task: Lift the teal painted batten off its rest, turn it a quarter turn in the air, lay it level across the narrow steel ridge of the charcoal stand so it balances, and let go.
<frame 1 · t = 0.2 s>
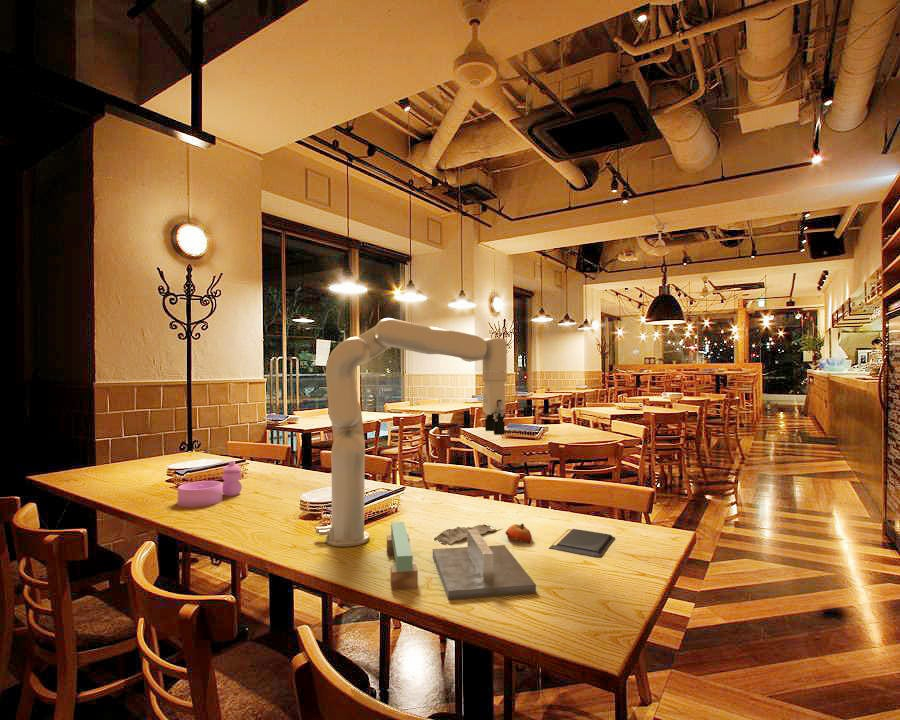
hand: (494, 432, 155), 31 cm above the table, tool pointing down, fingers open, 9 cm apart
teal batten: (400, 551, 127), point 4 cm above the table, touching batten rest
batten rest: (400, 567, 127), on the table
dark grey flat block: (583, 545, 146), on the table
stone fragment: (470, 536, 154), on the table
ridge stand: (479, 573, 123), on the table
container set: (212, 499, 194), on the table
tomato: (518, 541, 148), on the table
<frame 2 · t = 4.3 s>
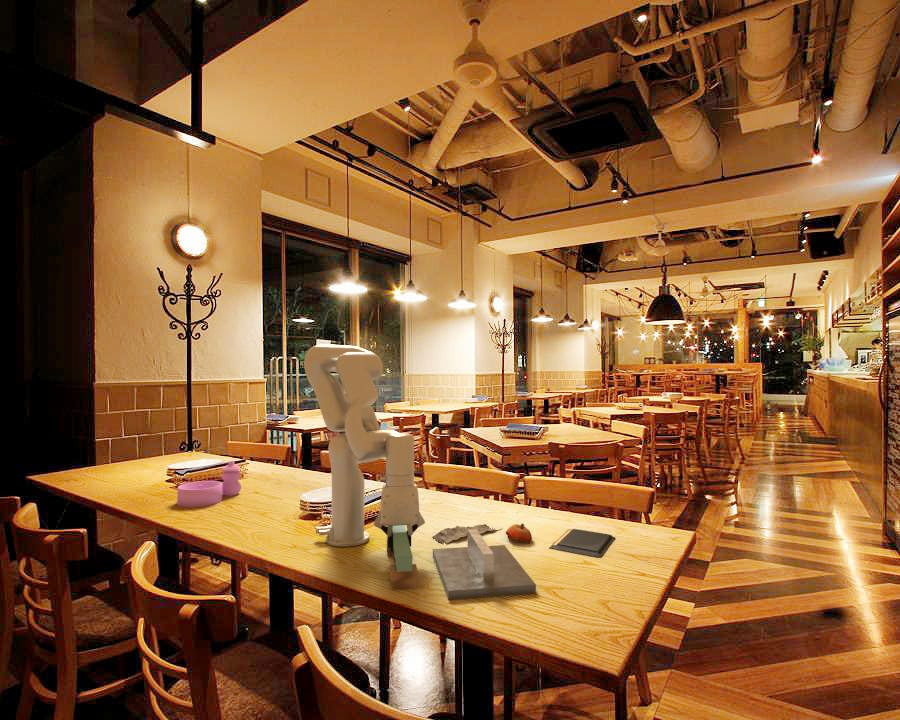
hand: (399, 549, 132), 3 cm above the table, tool pointing down, fingers closed on teal batten, 3 cm apart
teal batten: (400, 551, 127), point 4 cm above the table, touching batten rest, gripper
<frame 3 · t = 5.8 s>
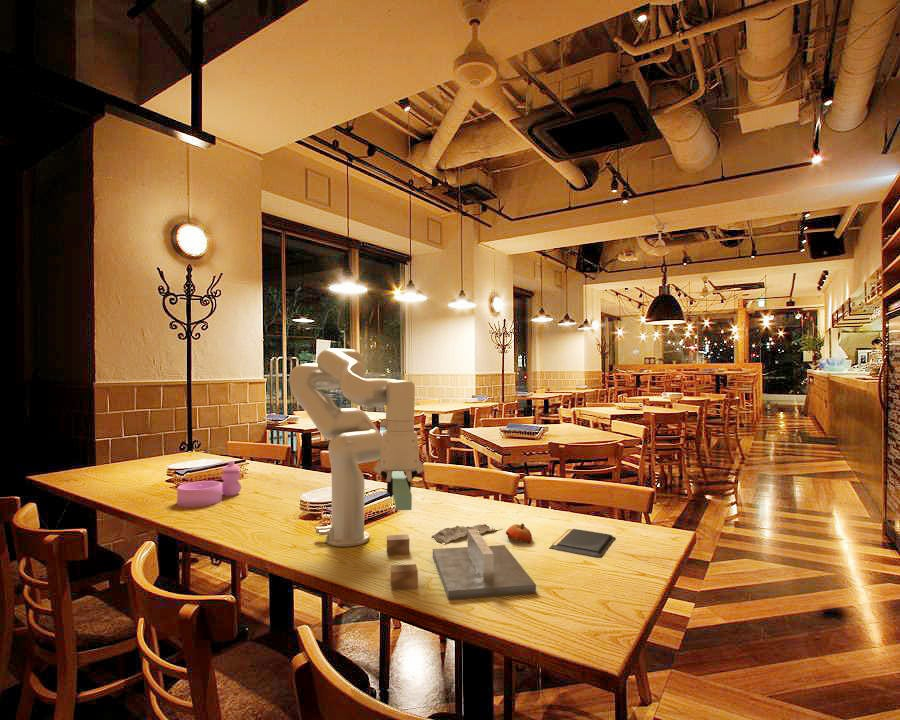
hand: (398, 494, 133), 17 cm above the table, tool pointing down, fingers closed on teal batten, 3 cm apart
teal batten: (400, 495, 128), point 18 cm above the table, touching gripper
everything else where it was.
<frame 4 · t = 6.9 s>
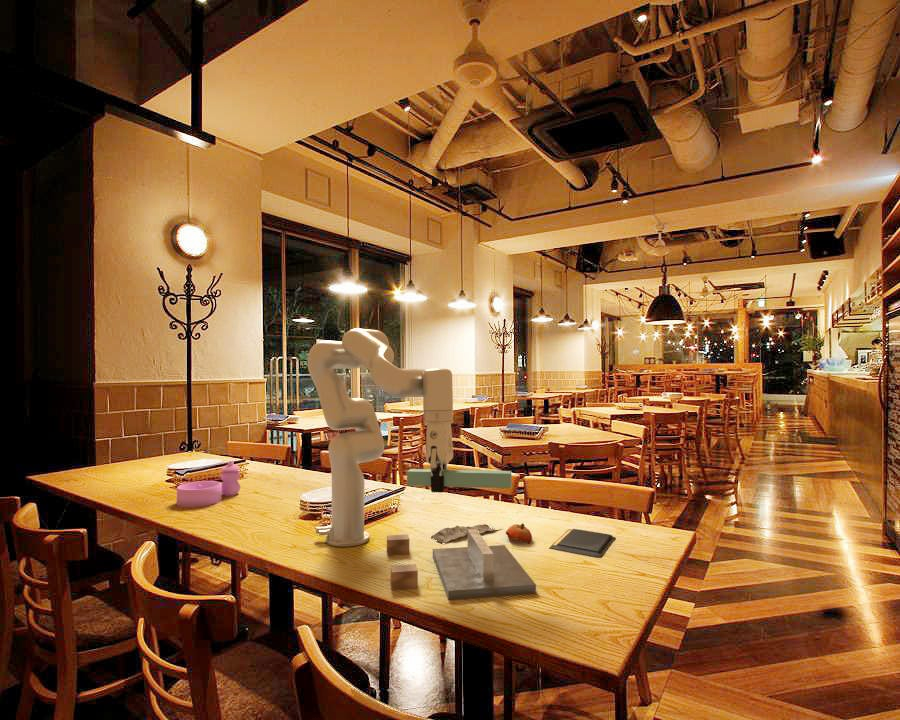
hand: (439, 489, 126), 20 cm above the table, tool pointing down, fingers closed on teal batten, 3 cm apart
teal batten: (458, 485, 125), point 21 cm above the table, touching gripper
everything else where it was.
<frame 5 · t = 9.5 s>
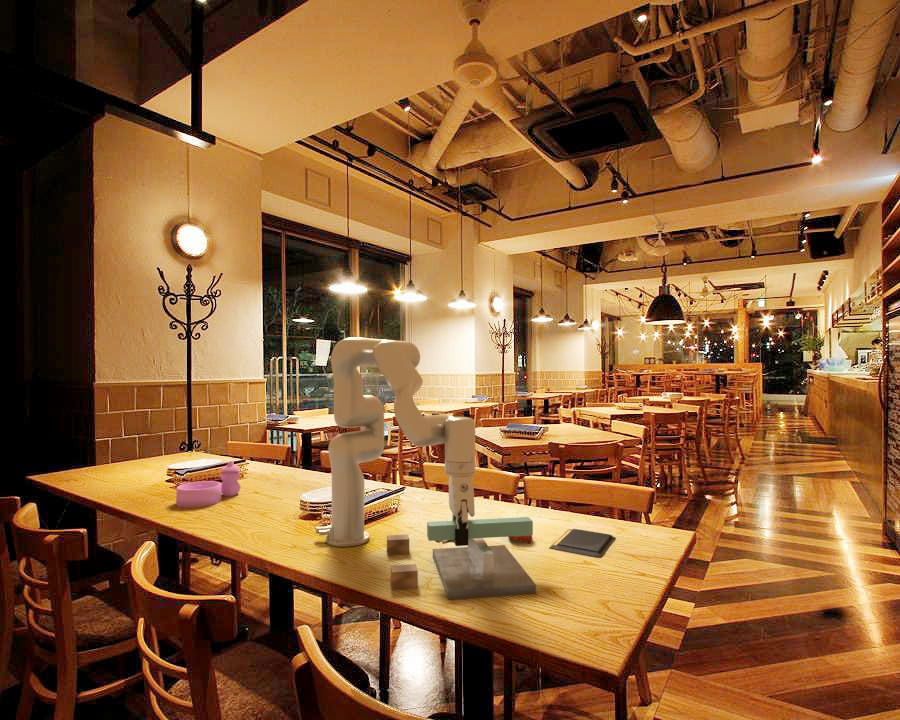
hand: (459, 541, 123), 8 cm above the table, tool pointing down, fingers closed on teal batten, 3 cm apart
teal batten: (480, 535, 124), point 9 cm above the table, touching gripper
when the fingers open (8 cm above the table, at t = 9.8 s): teal batten stays where it is, resting on ridge stand.
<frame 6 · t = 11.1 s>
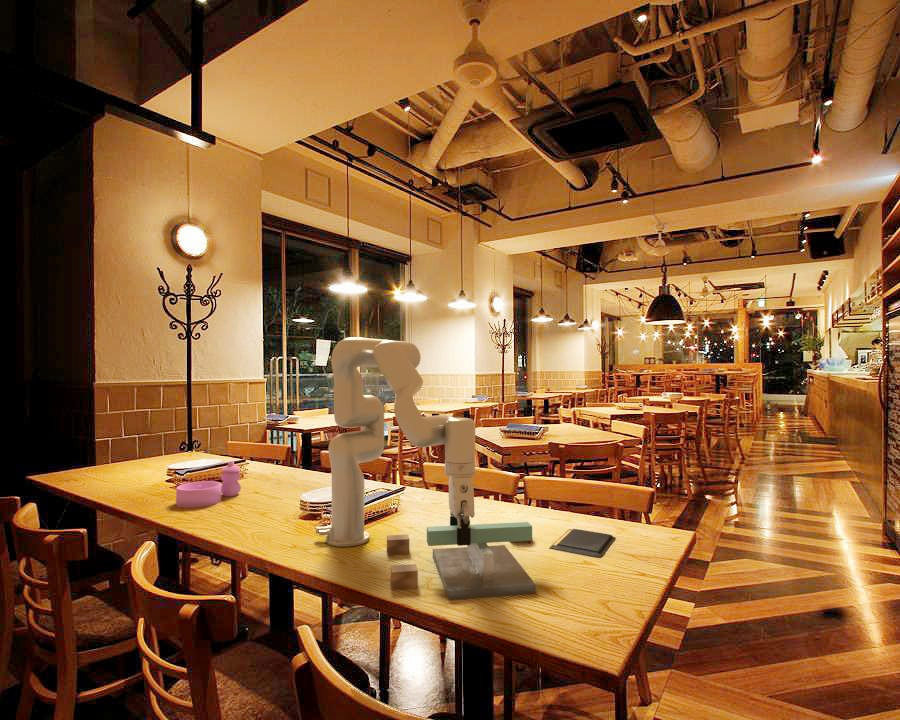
hand: (459, 538, 123), 9 cm above the table, tool pointing down, fingers open, 9 cm apart
teal batten: (479, 540, 124), point 8 cm above the table, touching ridge stand
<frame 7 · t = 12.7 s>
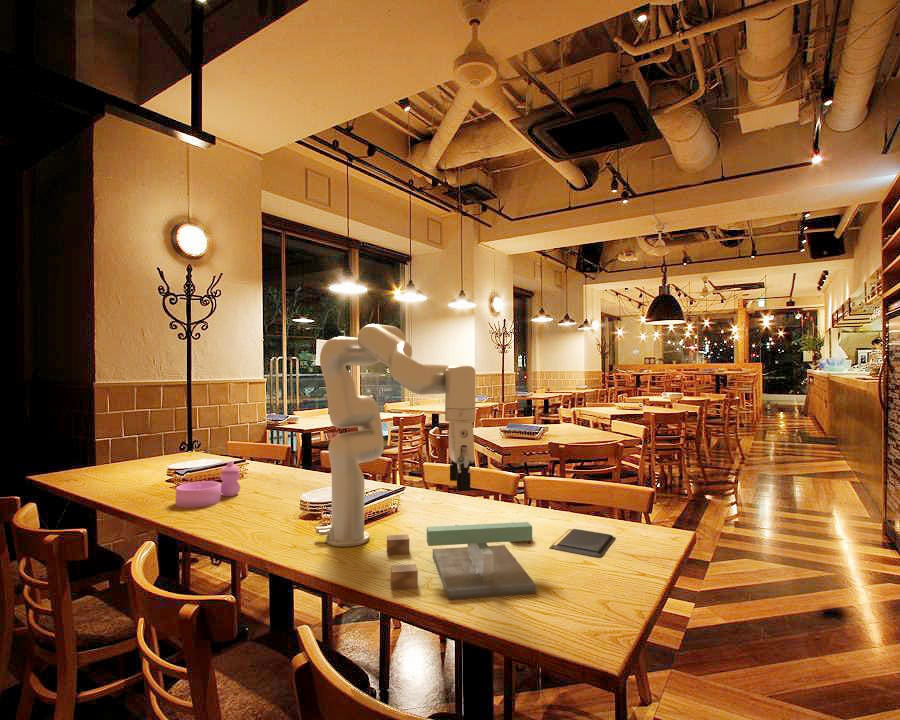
hand: (459, 484, 123), 22 cm above the table, tool pointing down, fingers open, 9 cm apart
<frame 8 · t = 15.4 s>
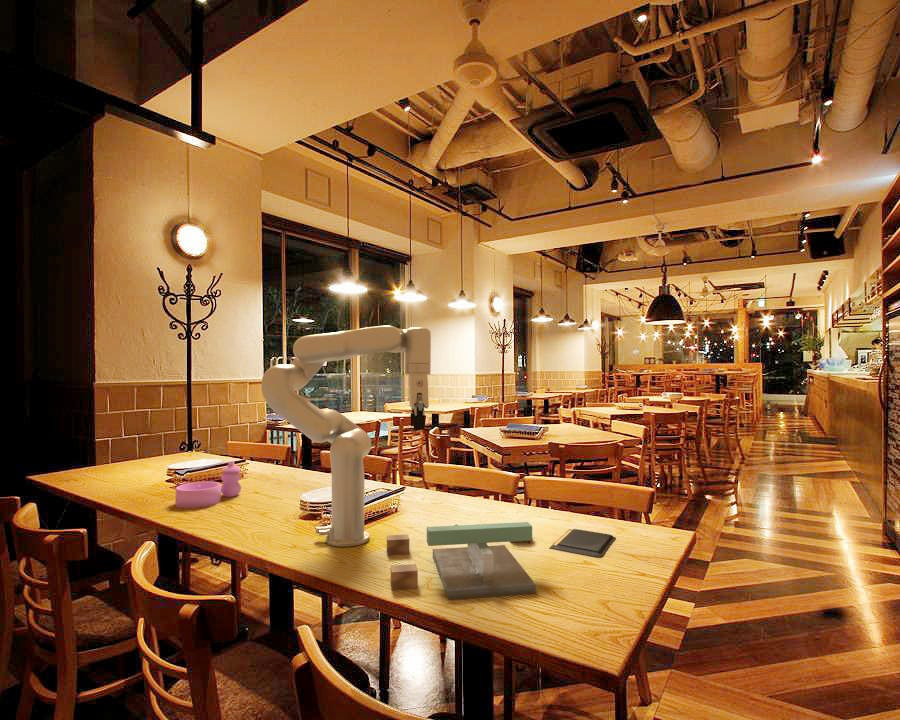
hand: (417, 427, 147), 33 cm above the table, tool pointing down, fingers open, 9 cm apart
at the end: teal batten inside the target area on the ridge stand (0.0 cm from its centre), point 8.0 cm above the ridge stand's base; teal batten tilted 0°; the gripper is holding nothing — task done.
